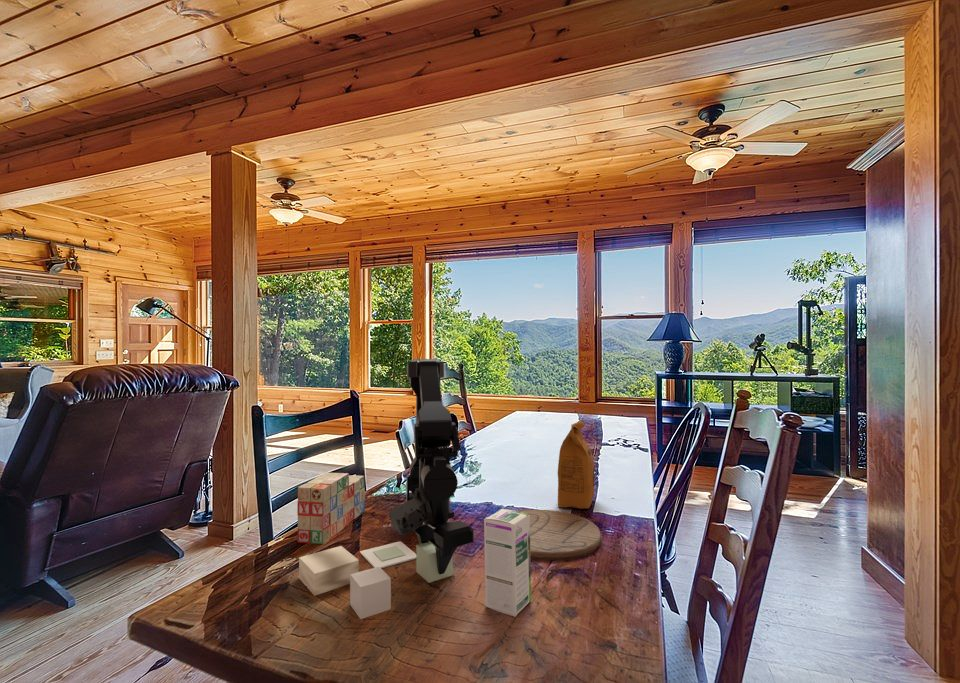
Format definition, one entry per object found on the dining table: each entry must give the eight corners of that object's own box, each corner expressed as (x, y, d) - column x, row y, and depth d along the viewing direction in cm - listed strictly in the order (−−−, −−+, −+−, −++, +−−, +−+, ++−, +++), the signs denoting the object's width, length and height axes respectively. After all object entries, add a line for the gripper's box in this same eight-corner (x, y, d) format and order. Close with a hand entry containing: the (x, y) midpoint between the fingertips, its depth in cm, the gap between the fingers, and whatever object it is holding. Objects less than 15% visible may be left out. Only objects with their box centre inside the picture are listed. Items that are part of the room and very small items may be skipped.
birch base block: (340, 566, 89) (341, 545, 89) (358, 582, 83) (358, 560, 83) (299, 579, 84) (299, 557, 84) (314, 597, 78) (314, 573, 78)
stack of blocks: (342, 509, 121) (343, 463, 121) (365, 511, 120) (365, 464, 120) (296, 543, 100) (297, 486, 100) (323, 545, 99) (323, 487, 99)
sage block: (439, 564, 89) (439, 539, 89) (452, 575, 85) (452, 548, 85) (416, 571, 86) (416, 545, 87) (428, 582, 82) (428, 554, 82)
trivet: (611, 528, 109) (611, 520, 109) (582, 572, 87) (582, 562, 87) (515, 510, 121) (515, 503, 121) (468, 546, 99) (468, 537, 99)
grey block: (379, 596, 78) (379, 566, 78) (390, 609, 74) (390, 578, 74) (350, 605, 75) (350, 574, 75) (360, 619, 71) (360, 587, 71)
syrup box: (515, 618, 71) (515, 524, 72) (483, 607, 74) (483, 517, 75) (531, 601, 76) (531, 513, 77) (500, 591, 79) (500, 506, 80)
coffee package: (600, 499, 129) (599, 421, 129) (590, 513, 117) (589, 427, 118) (565, 495, 133) (564, 418, 133) (552, 508, 122) (552, 424, 122)
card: (400, 542, 100) (400, 540, 100) (418, 557, 92) (418, 555, 92) (359, 552, 95) (359, 550, 95) (376, 569, 87) (376, 567, 87)
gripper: (375, 479, 89) (374, 560, 89) (418, 505, 74) (417, 603, 74) (426, 470, 96) (426, 546, 95) (475, 493, 80) (475, 584, 80)
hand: (434, 567), depth 86 cm, fingers closed on sage block, 5 cm apart
